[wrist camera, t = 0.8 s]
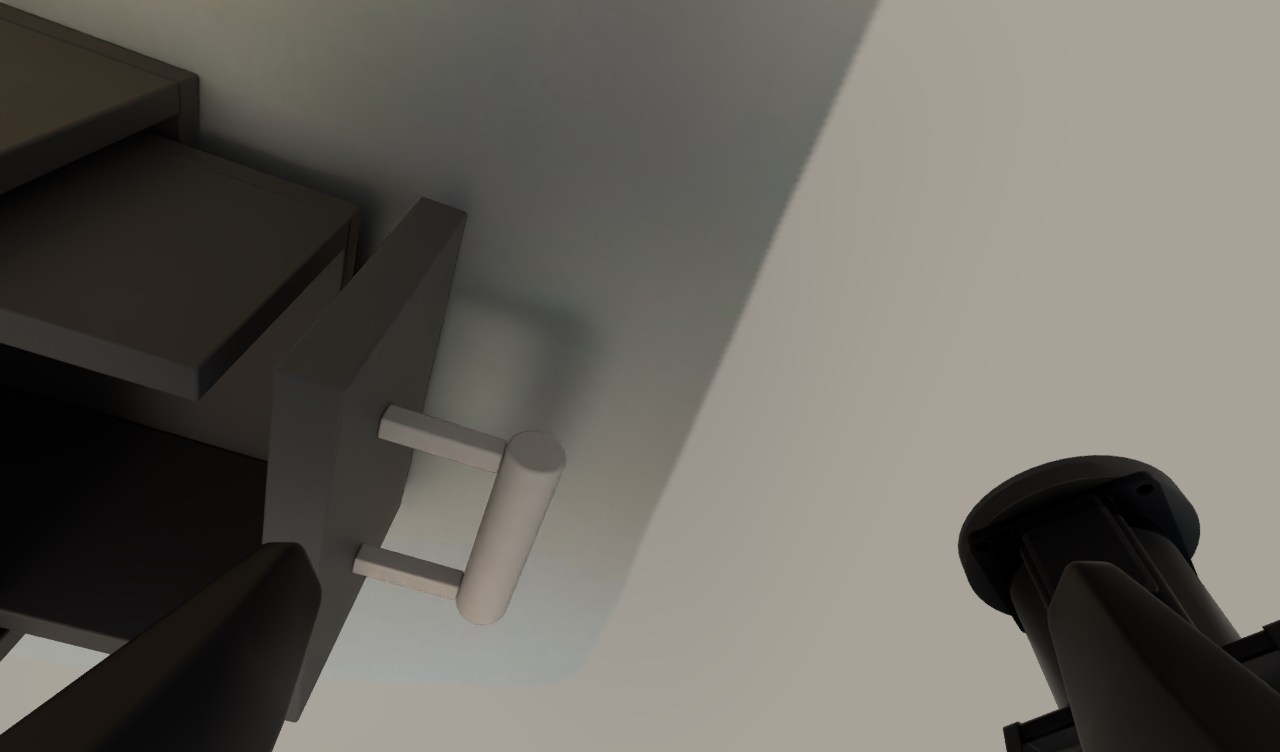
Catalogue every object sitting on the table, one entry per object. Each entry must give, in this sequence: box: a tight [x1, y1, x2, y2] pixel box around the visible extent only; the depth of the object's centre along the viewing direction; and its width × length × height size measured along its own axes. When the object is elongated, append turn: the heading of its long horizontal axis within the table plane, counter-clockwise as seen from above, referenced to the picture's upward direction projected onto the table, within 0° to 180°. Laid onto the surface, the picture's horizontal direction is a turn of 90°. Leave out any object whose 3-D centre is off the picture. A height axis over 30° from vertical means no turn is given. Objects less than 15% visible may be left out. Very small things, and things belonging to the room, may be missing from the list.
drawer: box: [0, 130, 566, 722], centre depth 18 cm, size 18×11×8 cm, turn 70°
